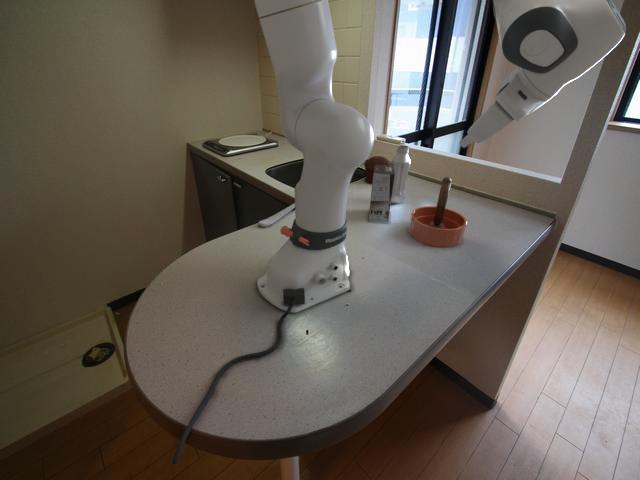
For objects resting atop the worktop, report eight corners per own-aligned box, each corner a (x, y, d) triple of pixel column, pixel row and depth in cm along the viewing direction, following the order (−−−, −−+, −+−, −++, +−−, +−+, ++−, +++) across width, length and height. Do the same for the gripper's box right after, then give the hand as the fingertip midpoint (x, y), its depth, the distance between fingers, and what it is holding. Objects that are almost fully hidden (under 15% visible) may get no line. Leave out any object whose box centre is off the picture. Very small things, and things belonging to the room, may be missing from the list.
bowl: (446, 255, 85) (451, 235, 82) (398, 234, 94) (401, 216, 91) (470, 236, 94) (475, 218, 91) (424, 219, 103) (428, 202, 100)
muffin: (359, 183, 131) (361, 159, 126) (365, 174, 140) (368, 152, 135) (388, 187, 128) (391, 162, 123) (392, 178, 137) (395, 155, 132)
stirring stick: (438, 238, 91) (451, 181, 82) (424, 233, 94) (436, 177, 85) (445, 233, 94) (459, 177, 85) (431, 228, 97) (443, 173, 88)
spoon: (318, 190, 123) (317, 184, 122) (334, 194, 119) (334, 188, 118) (251, 227, 99) (250, 219, 98) (270, 234, 95) (269, 226, 94)
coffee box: (388, 223, 100) (395, 174, 92) (368, 221, 101) (373, 172, 93) (388, 211, 108) (395, 165, 100) (369, 209, 109) (374, 163, 101)
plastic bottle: (408, 203, 114) (418, 147, 104) (395, 207, 111) (403, 150, 101) (395, 197, 119) (403, 143, 109) (382, 201, 116) (389, 145, 105)
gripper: (525, 66, 69) (474, 112, 81) (498, 94, 58) (443, 143, 69) (545, 87, 69) (491, 130, 80) (522, 119, 57) (463, 164, 69)
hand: (469, 136), depth 75 cm, fingers open, 8 cm apart
